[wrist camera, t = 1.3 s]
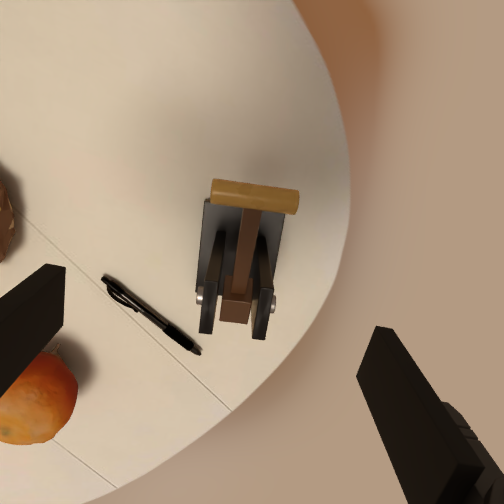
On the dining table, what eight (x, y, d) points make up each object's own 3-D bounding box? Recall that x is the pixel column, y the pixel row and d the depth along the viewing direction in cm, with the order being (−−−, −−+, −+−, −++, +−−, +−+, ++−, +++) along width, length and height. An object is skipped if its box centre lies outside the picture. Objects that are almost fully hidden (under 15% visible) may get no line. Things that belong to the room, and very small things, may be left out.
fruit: (106, 382, 45) (69, 461, 37) (34, 384, 46) (-16, 461, 38) (79, 325, 40) (30, 401, 32) (-1, 328, 41) (-68, 403, 33)
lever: (214, 168, 21) (209, 193, 20) (299, 180, 22) (300, 206, 20) (205, 294, 30) (201, 319, 28) (265, 301, 30) (264, 326, 29)
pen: (97, 281, 40) (93, 286, 39) (107, 271, 39) (103, 276, 38) (194, 357, 43) (193, 363, 42) (204, 348, 43) (203, 354, 42)
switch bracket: (205, 198, 37) (186, 239, 25) (284, 209, 37) (302, 255, 25) (196, 287, 40) (175, 361, 28) (268, 296, 41) (278, 373, 29)
